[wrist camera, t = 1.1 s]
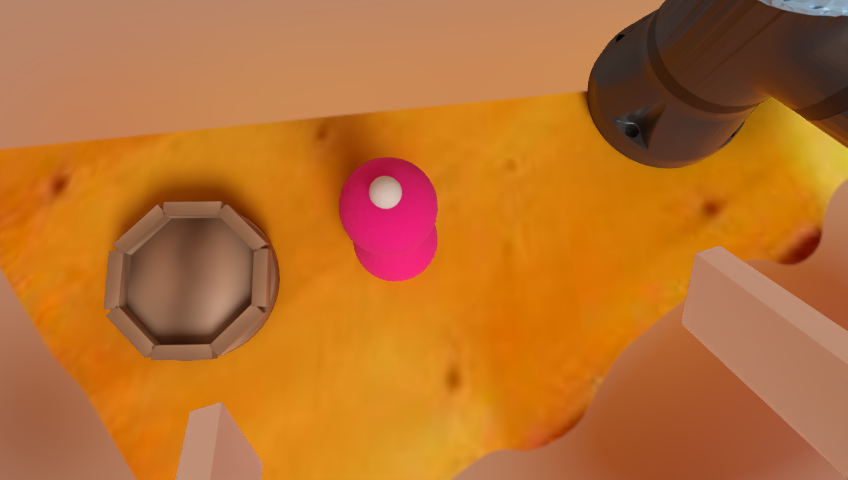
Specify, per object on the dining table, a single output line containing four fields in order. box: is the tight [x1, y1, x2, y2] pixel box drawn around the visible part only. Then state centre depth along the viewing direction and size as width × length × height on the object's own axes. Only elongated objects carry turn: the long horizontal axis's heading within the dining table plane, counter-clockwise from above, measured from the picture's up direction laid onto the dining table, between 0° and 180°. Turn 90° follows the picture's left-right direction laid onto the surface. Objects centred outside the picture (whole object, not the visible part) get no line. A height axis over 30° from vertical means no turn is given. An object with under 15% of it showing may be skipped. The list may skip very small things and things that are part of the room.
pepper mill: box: [339, 158, 438, 281], centre depth 34 cm, size 7×7×20 cm
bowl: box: [104, 201, 280, 361], centre depth 41 cm, size 14×14×3 cm
